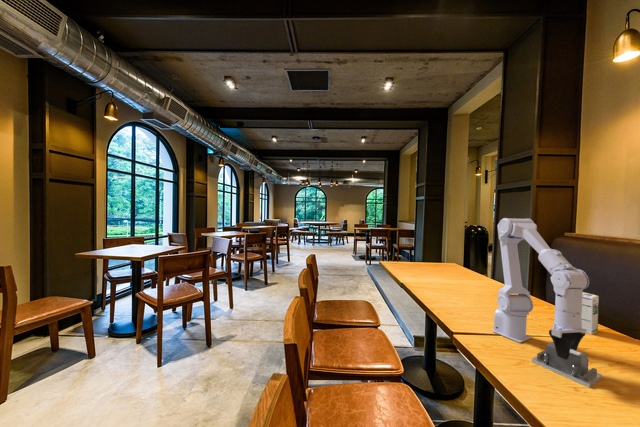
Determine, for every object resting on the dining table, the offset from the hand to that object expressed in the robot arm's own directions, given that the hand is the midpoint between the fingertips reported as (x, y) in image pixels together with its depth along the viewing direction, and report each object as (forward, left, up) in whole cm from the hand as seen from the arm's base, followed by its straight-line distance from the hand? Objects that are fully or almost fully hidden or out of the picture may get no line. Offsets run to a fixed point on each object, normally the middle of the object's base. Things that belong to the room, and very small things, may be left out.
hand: (566, 355), depth 77 cm
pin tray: (0, 0, -4) cm, 4 cm away
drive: (0, 0, -3) cm, 3 cm away
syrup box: (-8, +41, -4) cm, 42 cm away
